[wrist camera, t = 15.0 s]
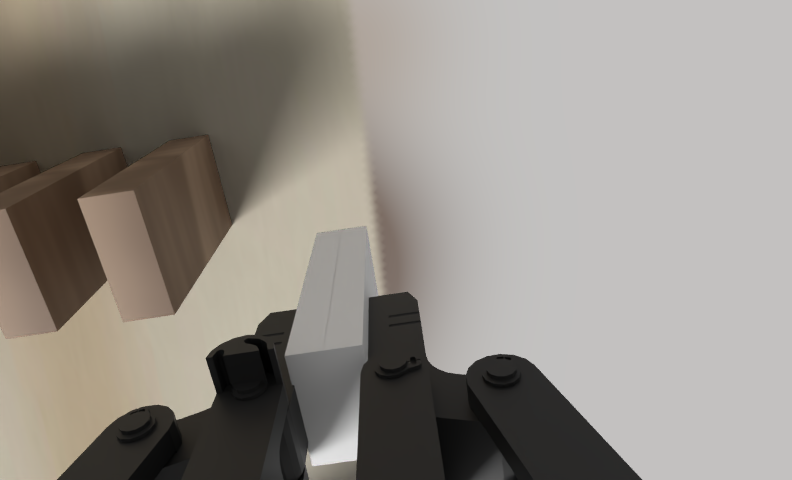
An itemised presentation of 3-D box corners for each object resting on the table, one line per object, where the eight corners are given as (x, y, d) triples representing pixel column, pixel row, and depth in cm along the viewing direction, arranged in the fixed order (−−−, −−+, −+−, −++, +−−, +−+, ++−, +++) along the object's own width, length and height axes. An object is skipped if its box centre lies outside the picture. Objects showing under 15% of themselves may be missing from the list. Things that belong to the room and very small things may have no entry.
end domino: (196, 230, 31) (123, 321, 21) (169, 140, 29) (77, 199, 20) (232, 224, 31) (174, 314, 21) (208, 134, 29) (133, 190, 20)
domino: (114, 242, 31) (5, 339, 21) (82, 153, 29) (-51, 217, 20) (150, 236, 31) (57, 331, 21) (120, 147, 29) (5, 208, 20)
